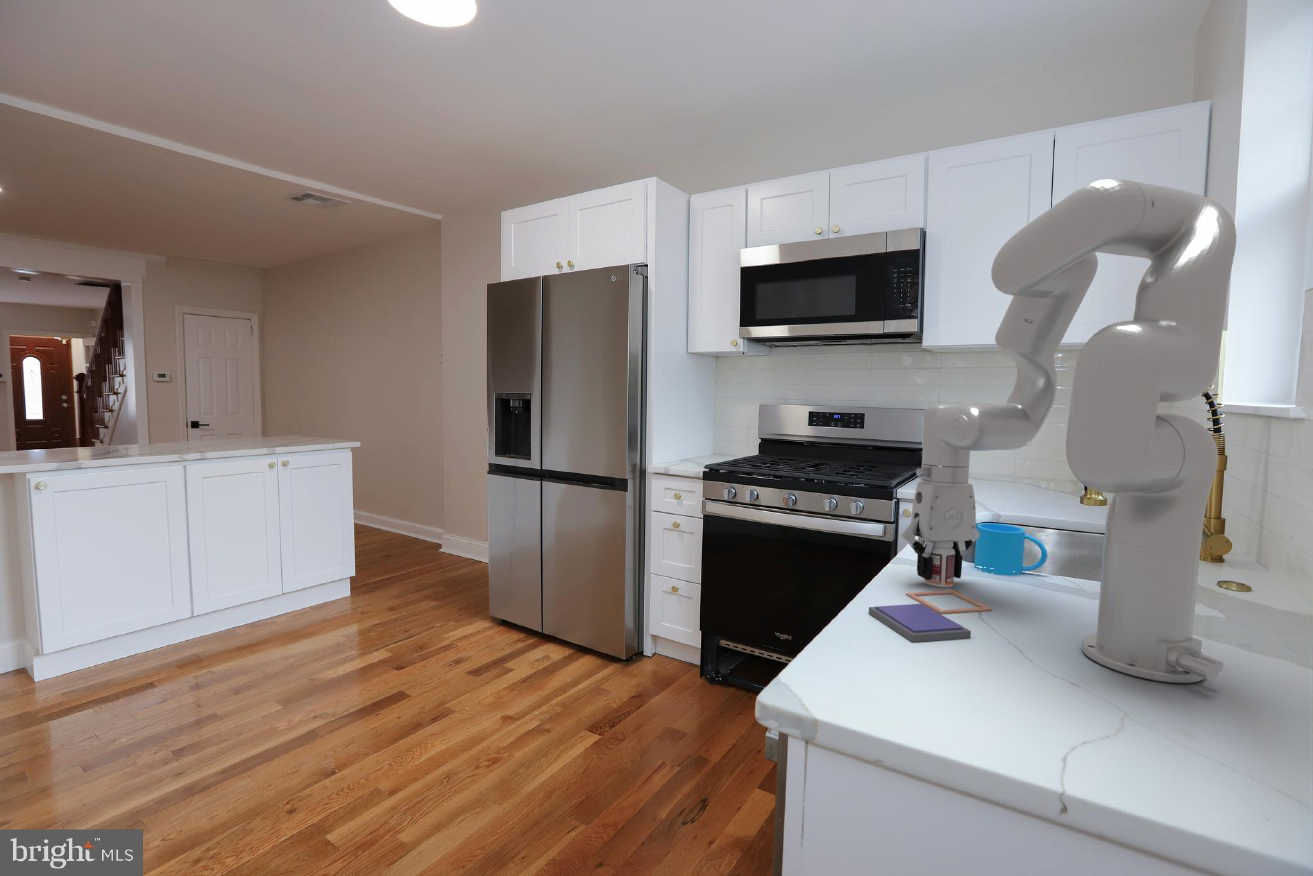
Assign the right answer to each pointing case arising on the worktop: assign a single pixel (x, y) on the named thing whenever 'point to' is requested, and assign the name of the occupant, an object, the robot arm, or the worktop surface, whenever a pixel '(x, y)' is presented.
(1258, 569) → the worktop surface
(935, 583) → the pill bottle
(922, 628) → the ink pad
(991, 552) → the mug
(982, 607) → the open rectangular frame
